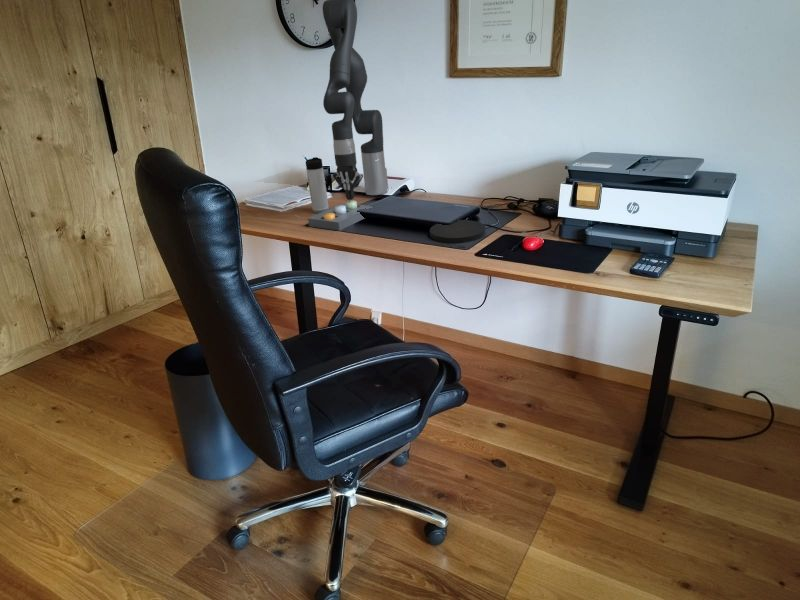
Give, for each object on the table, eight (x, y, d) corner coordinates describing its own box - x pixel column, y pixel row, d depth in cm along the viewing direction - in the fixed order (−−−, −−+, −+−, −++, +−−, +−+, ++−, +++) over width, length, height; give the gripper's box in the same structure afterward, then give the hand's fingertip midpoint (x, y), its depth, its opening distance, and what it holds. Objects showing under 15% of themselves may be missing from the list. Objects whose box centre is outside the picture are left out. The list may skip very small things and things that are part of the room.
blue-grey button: (340, 214, 205) (339, 204, 204) (349, 215, 203) (347, 205, 202) (333, 217, 202) (332, 207, 201) (342, 218, 200) (340, 208, 199)
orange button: (329, 221, 201) (328, 212, 199) (338, 222, 199) (336, 213, 197) (322, 225, 198) (320, 215, 196) (331, 226, 196) (329, 216, 194)
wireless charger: (443, 223, 191) (443, 218, 190) (493, 228, 183) (493, 222, 182) (420, 241, 177) (420, 235, 176) (473, 246, 169) (473, 240, 168)
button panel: (343, 210, 214) (342, 203, 213) (373, 214, 207) (372, 206, 206) (309, 226, 200) (307, 218, 198) (339, 230, 192) (338, 222, 191)
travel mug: (330, 207, 219) (323, 156, 211) (327, 212, 214) (319, 160, 205) (315, 208, 220) (307, 157, 212) (311, 213, 214) (303, 161, 206)
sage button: (351, 209, 210) (350, 200, 209) (359, 210, 208) (358, 200, 206) (344, 212, 207) (343, 203, 206) (353, 213, 205) (352, 203, 203)
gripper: (365, 150, 197) (370, 198, 205) (337, 149, 204) (342, 195, 212) (353, 154, 192) (358, 203, 199) (323, 153, 199) (330, 200, 206)
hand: (350, 199), depth 205 cm, fingers closed
